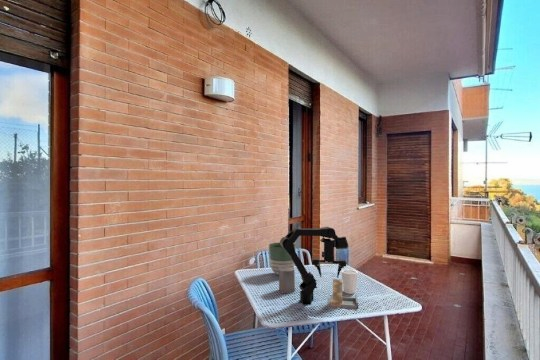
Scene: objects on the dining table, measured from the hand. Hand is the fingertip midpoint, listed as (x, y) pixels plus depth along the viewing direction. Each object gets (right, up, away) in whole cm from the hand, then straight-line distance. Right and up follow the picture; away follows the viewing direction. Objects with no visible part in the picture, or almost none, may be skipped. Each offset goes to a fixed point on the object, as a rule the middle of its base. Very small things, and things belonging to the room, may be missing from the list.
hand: (329, 277), depth 180 cm
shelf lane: (+6, -13, -7) cm, 16 cm away
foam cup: (+14, -13, +12) cm, 23 cm away
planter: (-24, -14, +52) cm, 60 cm away
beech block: (+3, -12, -6) cm, 14 cm away
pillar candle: (-23, -14, +17) cm, 32 cm away
